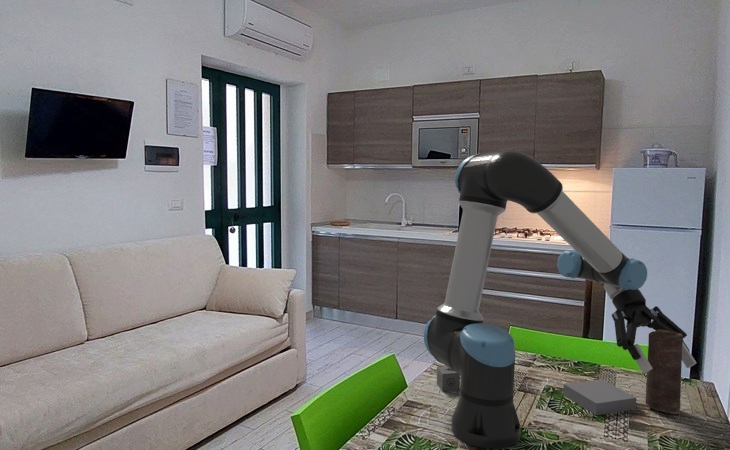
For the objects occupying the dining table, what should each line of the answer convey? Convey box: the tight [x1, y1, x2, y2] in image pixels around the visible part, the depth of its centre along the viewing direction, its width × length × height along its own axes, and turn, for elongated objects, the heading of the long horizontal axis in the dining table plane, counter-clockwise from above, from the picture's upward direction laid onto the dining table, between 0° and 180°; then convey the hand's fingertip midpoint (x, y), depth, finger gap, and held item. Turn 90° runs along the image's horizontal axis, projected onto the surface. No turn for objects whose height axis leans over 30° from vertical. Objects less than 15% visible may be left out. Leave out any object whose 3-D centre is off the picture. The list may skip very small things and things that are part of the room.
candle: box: [645, 330, 684, 415], centre depth 120 cm, size 8×7×20 cm
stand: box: [562, 378, 637, 416], centre depth 125 cm, size 12×12×3 cm
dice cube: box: [436, 365, 461, 392], centre depth 134 cm, size 5×5×5 cm
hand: (670, 368), depth 119 cm, fingers open, 13 cm apart
